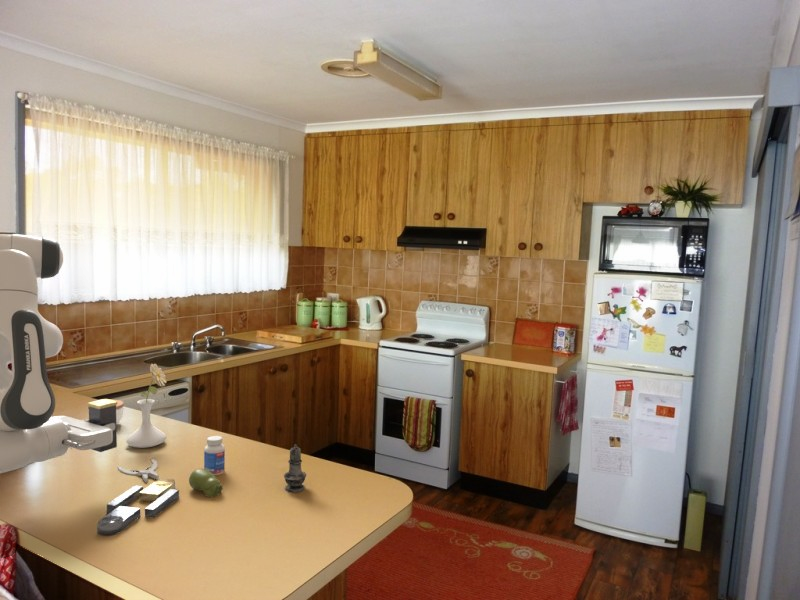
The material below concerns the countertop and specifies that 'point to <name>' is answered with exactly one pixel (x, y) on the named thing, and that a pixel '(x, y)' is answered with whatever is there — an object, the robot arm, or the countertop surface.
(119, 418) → the lidded jar
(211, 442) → the pill bottle
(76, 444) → the robot arm
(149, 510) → the grey metal bars
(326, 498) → the countertop surface
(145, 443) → the flower in vase
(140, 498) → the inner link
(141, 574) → the countertop surface
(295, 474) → the salt shaker
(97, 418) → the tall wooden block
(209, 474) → the pear
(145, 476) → the pliers
